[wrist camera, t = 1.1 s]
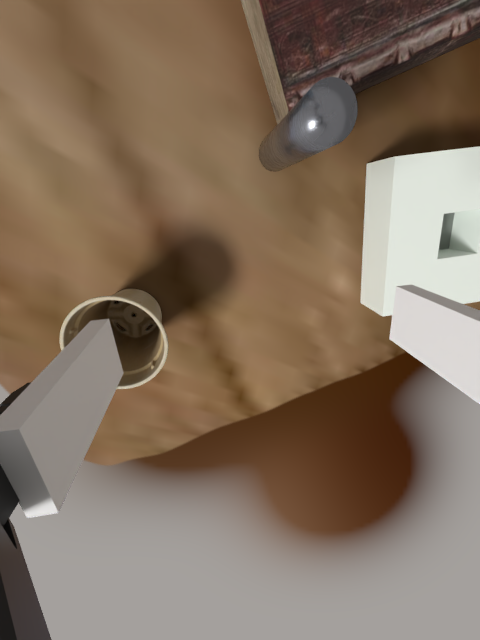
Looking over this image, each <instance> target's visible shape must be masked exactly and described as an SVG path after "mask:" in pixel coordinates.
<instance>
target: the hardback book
mask: <svg viewBox="0 0 480 640" xmlns="http://www.w3.org/2000/svg"><path fill="white" fill-rule="evenodd" d="M241 2H242V6H243V9H244V13H245V16H246V19H247V23H248V26H249V30H250V33H251V36H252V40H253V43H254V46H255V50H256V53H257V57H258V60H259V63H260V67H261V70H262V74H263V77H264V80H265V84H266V87H267V90H268V94H269V97H270V101H271V104H272V107H273V111H274V114H275V117H276V121H277V124H278V123H279V122H280V121H281V120H282V119H283V118H284V117H285V116H286V115H287V114H288V112H289V111H290V110H291V109H292V108H293V107H294V106H295V105H296V104H297V103H298V101H299V100H300V99H301V98H302V97H303V96H304V95H305V94H306V93H307V92H308V90H309V89H310V88H311V87H312V86H313V85H314V84H315V83H317V82H318V81H320V80H321V79H324V78H328V77H336V78H340V79H342V80H344V81H345V82H347V83H348V84H349V85H350V87H351V88H352V89H353V91H354V93H355V94H356V93H358V92H360V91H363V90H365V89H367V88H369V87H372V86H374V85H376V84H378V83H380V82H383V81H385V80H387V79H389V78H392V77H394V76H396V75H398V74H400V73H403V72H405V71H407V70H409V69H411V68H414V67H416V66H418V65H420V64H423V63H425V62H427V61H429V60H431V59H434V58H436V57H438V56H440V55H443V54H445V53H447V52H449V51H451V50H454V49H456V48H458V47H460V46H463V45H465V44H467V43H469V42H471V41H474V40H476V39H478V38H480V0H241Z"/></svg>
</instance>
